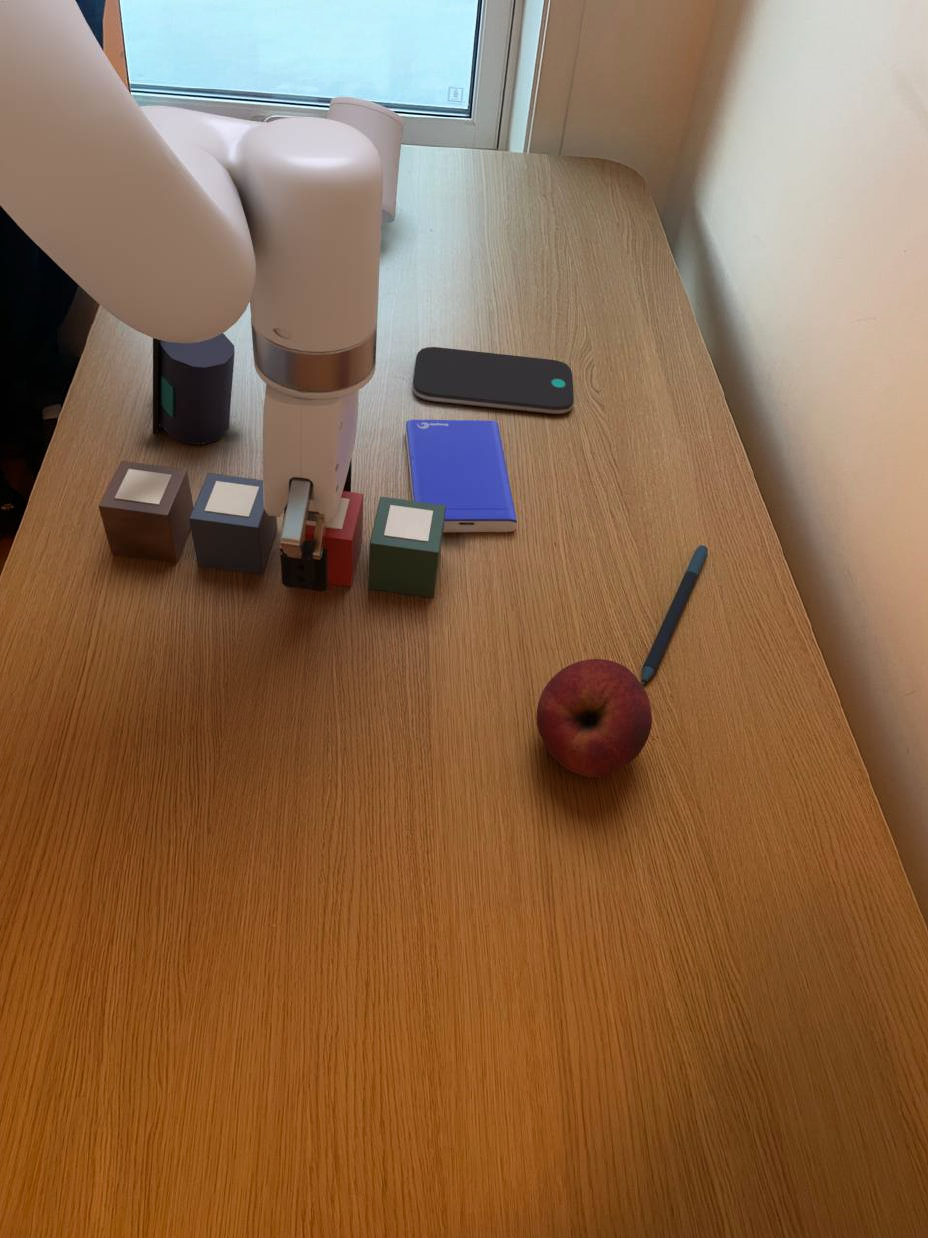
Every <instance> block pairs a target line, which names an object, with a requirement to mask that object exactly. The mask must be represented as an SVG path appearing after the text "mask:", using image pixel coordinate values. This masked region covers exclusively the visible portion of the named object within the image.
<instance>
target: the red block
mask: <svg viewBox="0 0 928 1238" xmlns="http://www.w3.org/2000/svg"><path fill="white" fill-rule="evenodd" d="M309 511H316V512H319V511H318V510H317V508H316V506H315V504H314V502H313V500H310V506H309ZM363 524H364V493H360V492H354V491H351V492H347V491H343V492H342V496H341V499H340V503H339V507H338V510H337V513H336V516H335V518H334V519H333V520H331V521H330V522H328V523H326V527H325V536H324V544H323V548H325V549H328V584H330V585H339V586H346V587H353V581H354V578H355V573H356V569H357V565H358V561H359V556H360V552H361V548H362V543H363V529H364V525H363ZM315 527H316V522H315V521H308V520H307V522H306V528H305V538H306V539H305V540H308V541H314V535H315Z"/></svg>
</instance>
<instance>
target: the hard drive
mask: <svg viewBox="0 0 928 1238" xmlns="http://www.w3.org/2000/svg"><path fill="white" fill-rule="evenodd" d="M404 430H405V432H404V433H405V441H406V443H405V444H406V450H407V451H406V452H407V461H408V470H409V471H408V472H409V481H410V491H411V492H410V493H411V501H417V502H424V503H431V504H439V505H445V506H446V512H445V521H444V529H443V533H510V532H514V531H516V528H517V523H518V520H517V515H516V510H515V509H516V508H515V504H514V499H513V493H512V489H511V483H510V479H509V478H510V477H509V473H508V467H507V463H506V462H507V461H506V459H505V458H506V457H505V453H504V448H503V442H502V437H501V433H500V427H499V422H498V421H496V420H491V419H490V420H489V419H487V420H486V419H415V418H413V419H409V420H406V421H405V429H404Z"/></svg>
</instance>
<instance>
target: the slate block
mask: <svg viewBox="0 0 928 1238" xmlns="http://www.w3.org/2000/svg"><path fill="white" fill-rule="evenodd" d="M193 507H194V508H193V510H192V513H191V515H190V518H189V520H190V526H191V529H190V532H191V535H192V542H193V548H194V553H195V559H196V565H197V567H205V568H212V569H219V570H221V569H222V570H227V571H234V572H241V573H250V574H256V575H263V574H264V572H265V569H266V566H267V563H268V559H269V556H270V553H271V551H272V547H273V544H274V540H275V538H276V535H277V531H278V519H277V518H278V517H276V516H269V515H268V514H267V513H266V511H265V509H264V498H263V479H256V478H249V477H242V476H233V475H227V474H219V473H214V472H213V473H212V472H208V473H207V474H206V477H205V479H204V481H203V484H202V486H201V489H200V491H199V493H198V496H197V499H196V501H195V503H194V505H193Z"/></svg>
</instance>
